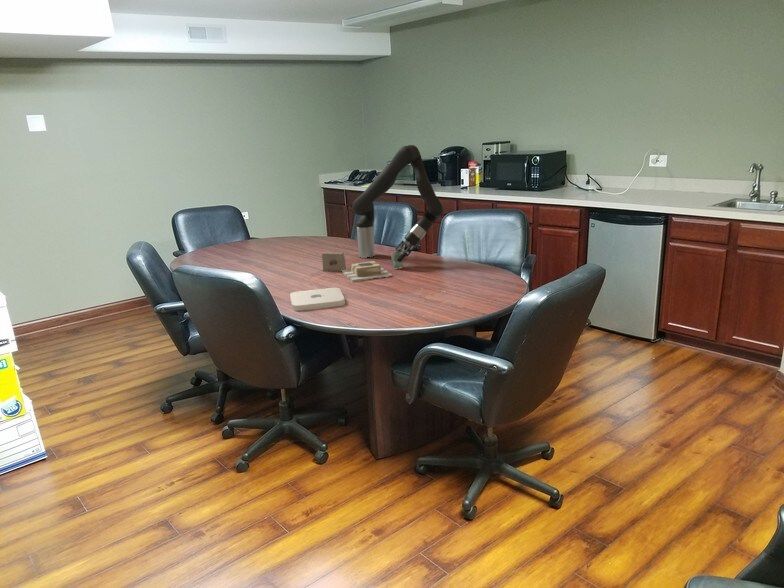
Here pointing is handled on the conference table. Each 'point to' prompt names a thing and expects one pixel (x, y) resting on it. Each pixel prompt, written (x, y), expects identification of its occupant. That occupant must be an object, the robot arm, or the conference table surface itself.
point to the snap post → (394, 260)
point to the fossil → (333, 261)
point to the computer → (317, 299)
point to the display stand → (365, 271)
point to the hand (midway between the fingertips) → (395, 259)
